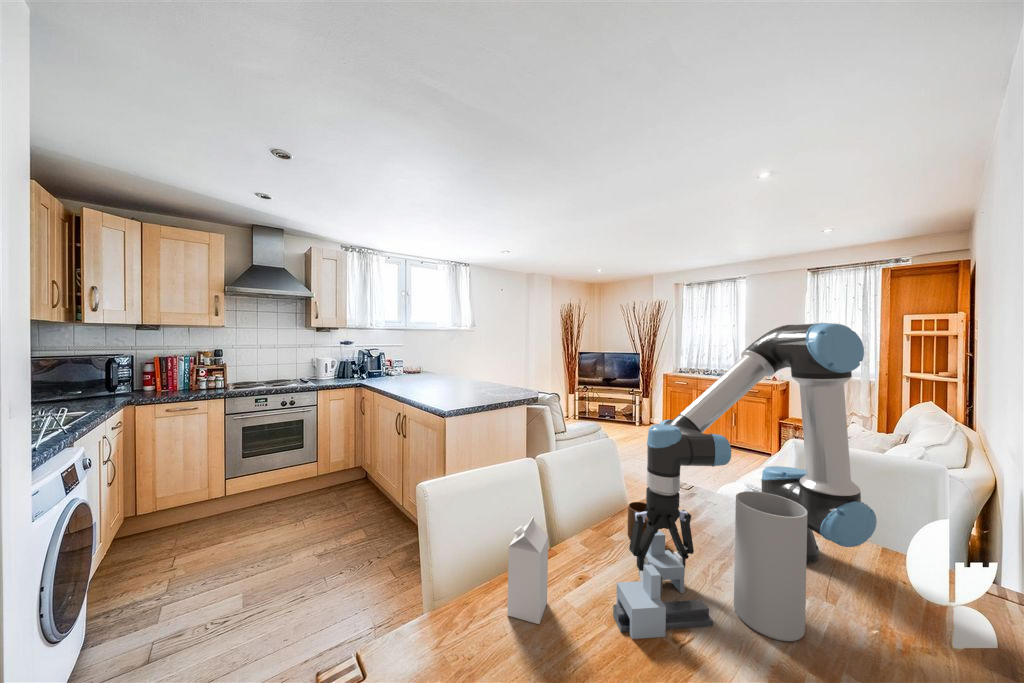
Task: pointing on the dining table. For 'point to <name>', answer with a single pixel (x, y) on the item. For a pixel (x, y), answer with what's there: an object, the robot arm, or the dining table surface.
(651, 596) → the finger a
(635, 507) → the mug
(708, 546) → the dining table surface
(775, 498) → the cylinder vase
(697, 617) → the rail
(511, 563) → the milk carton
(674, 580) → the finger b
